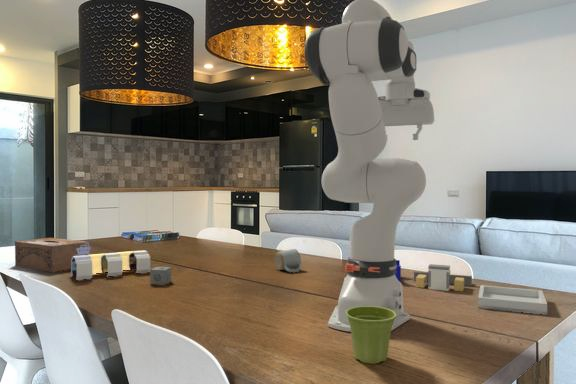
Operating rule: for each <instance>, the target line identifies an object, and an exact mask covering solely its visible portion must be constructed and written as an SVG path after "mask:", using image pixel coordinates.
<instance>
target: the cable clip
mask: <svg viewBox="0 0 576 384" xmlns="http://www.w3.org/2000/svg"><path fill="white" fill-rule="evenodd" d="M396 264H397V268H396V274H395V276H396V278H397V279H398V280H399V281H400V282H401V277H402V275H401V274H402V273H401V269H402V268H401V267H402V266H401V265H400V264H401V263H400V260H399V259H396Z"/></svg>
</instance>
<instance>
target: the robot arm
mask: <svg viewBox="0 0 576 384" xmlns="http://www.w3.org/2000/svg"><path fill="white" fill-rule="evenodd" d="M414 49H415V48H414V44H413V42H411V40H408V36H407V34H406V30H405V28H404V26H403V25H402V24H401V23H400V22H398V20H394V19H393V18H392V16H391V15H390V12H388V11H387V9H386V8H385V7H384V6H382V5H381V4H380V3H379V2H377V1H375V0H353V1H352V2H350V3H349V4H348V5H347V6H346V8H345V9H344V11H343V14H342V17H341V23H340V24H335V25H331V26H323V27H322V26H321V27H319V28H316V29H315V30H312V31H310V32H309V33H308V36H307V37H306V39H305V42H304V58H305V59H304V60H305V63H306V66H307V68H308V70H309V71H310V73H312V75H313V76H314V77H315V78H316V79H318V80H319V82H320V83H321V84H322V85H323V86H327V87H328V86H329V87H328V105H329V113H330V118H331V123H332V126H333V130H334V133H335V134H334V135H335V137H336V143H337V148H338V149H337V150H338V151H337V156H336V157H335V158H334V159H333V161H330V163H328V164H327V165H326V167H325V168H324V170H323V171H322V172H323V173H321V174H322V175H321V188H322V189H323V190H322V191H323V192H324V194H325V195H326V197H327V198H328V199H330V200H333V201H338V202H342V203H343V202H344V203H349V204H350V203H352V204H353V203H354V204H355V203H356V204H358V203H359V204H362V203H363V204H373V207H372V211H371V212H370V214H368V215H365V216H364V217H361V218H359V219H357V220H356V221H355V222H353V224H351V227H350V229H349V257H348V258H347V262H346V263H345V267H344V269H345V272H346V274H347V275H346V276H345V277H344V278H343V283H342V286H341V290H340V293H339V295H338V296H339V297H338V301H337V305H336V306H335V307H334V309H333V311H332V313H331V316H330V318H329V320H328V321H327V326H328V327H330V328H332V329H335V330H339V331H344V332H350V333H351V328H350V323H349V321H348V317H347V316H346V311H347V310H348V309H350V308H353V307H359V306H375V307H382V308H387V309H390V310H392V311H394V312H395V313H396V318H395V319H394V323H393V325H392V328H391V332H392V331H393V330H394V331H395V329H397V328H398V327H400V326H402V325H403V324H404V323H406V322H407V321H409V320H410V319H411V315H410V314H409V313H408V312H405V311H404V299H403V298H404V296H403V295H404V294H403V284H402V283H401V282H400V281H399V280H398V279H397V278H396V276H395V274H396V268H397V264H396V260H397V259H396V258H395V245H396V244H395V243H396V234H397V227H398V224H399V221H400V220H401V217H402V215H403V214H404V212H405V211H406V210H407V208H409V207H410V206H411V205H412V204H414V203H415V202H417V201H418V200H419V198H420V197H422V195H423V193H424V191H425V189H426V186H427V178H426V172H425V170H424V168H423V167H422V166H421V164H420V163H419V162H417V161H414V160H410V159H405V158H404V159H403V158H378V156H380V155H381V153H382V152H383V151H384V150H385V148H386V146H387V141H388V134H387V132H386V127H401V126H402V127H403V126H405V127H406V126H416V128H417V130H416V133H412V141H418V140H419V135H420V132H421V131H422V129H423V126H424V125H427V126H428V125H433V124H434V122H435V113H434V105H433V103H432V102H431V100H430V99H431V93H430V92H429V90H426V89H421V88H417V87H416V84H415V78H414V77H415V73H416V71H417V54H416V52H415V50H414ZM377 81H386V83H385V95H382V96H378V93H377V90H376V88H375V86H374V83H373V82H377Z"/></svg>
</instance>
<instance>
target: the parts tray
mask: <svg viewBox="0 0 576 384" xmlns="http://www.w3.org/2000/svg"><path fill="white" fill-rule="evenodd" d="M478 291H479V292H478V296H477V298H478V299H477V308H478V309H484V310H485V309H486V310H493V311H494V310H495V311H503V312H511V311H512V313H521V312H523V313H522V314H530V313H532V315H533V314H534V315H540V314H542V315H541V316H548V302H547V300H546V297H545V294H544V291H543V290H540V289H530V288H529V289H528V288H519V287H517V288H516V287H506V286H505V287H504V286H496V285H495V286H494V285H493V286H492V285H483V284H480V286H479V290H478Z"/></svg>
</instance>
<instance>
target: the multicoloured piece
mask: <svg viewBox="0 0 576 384" xmlns="http://www.w3.org/2000/svg"><path fill="white" fill-rule="evenodd" d="M85 242H86V245H81V246H87V243H88V247H80V248H77V252H78V255H81V256H73V258H72V259H71V269H70V273H71V277H72V276H74V277H76V278H75V281H76V280H78V281H84V280H83V279H87V280H92V279H93V275H97V274H96V273H103V274H107V275H106V277H107V278H109V277H108V276H114V277H117V276H116V275H122V274H123V272H124V271H123V270H131V271H133V270H132V269H137V270H135V271H136V272H135V274H136V273H141V274H145V273H144V272H150V269H151V256H150V254H149V252H148V251H147V250H145V249H143V250H132V251H119V252H117V251H116V252H108V253H107V252H105V253H96V254H93V253H90V250H91V248H92V247H91V246H90V243H89V242H88V241H85ZM84 244H85V243H84ZM87 249H88V251H87ZM79 250H80V252H79ZM81 250H82V251H81ZM84 254H88V255H84ZM105 272H108V273H105ZM122 276H123V275H122ZM91 278H92V279H91Z"/></svg>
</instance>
